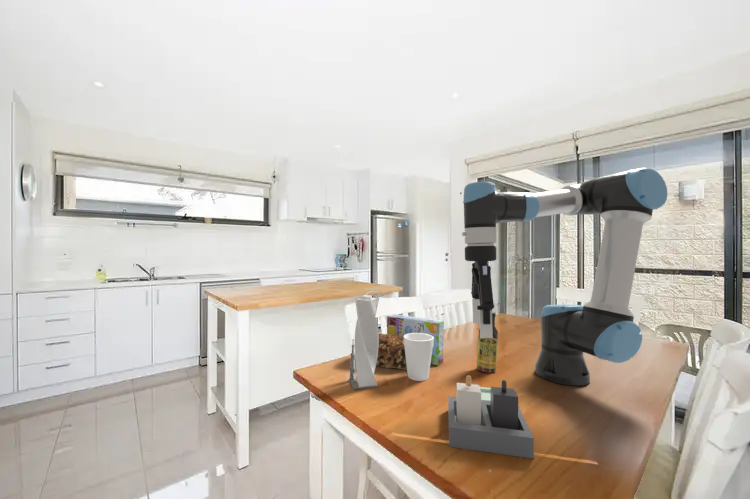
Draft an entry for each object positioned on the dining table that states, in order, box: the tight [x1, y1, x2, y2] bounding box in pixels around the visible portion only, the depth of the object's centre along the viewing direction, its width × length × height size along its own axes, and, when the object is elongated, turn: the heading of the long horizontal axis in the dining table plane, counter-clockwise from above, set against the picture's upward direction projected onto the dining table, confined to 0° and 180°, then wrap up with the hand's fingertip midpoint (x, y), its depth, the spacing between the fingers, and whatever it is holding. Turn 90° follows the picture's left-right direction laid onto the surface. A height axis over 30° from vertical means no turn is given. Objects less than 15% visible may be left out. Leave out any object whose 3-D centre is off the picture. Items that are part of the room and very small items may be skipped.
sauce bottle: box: [476, 310, 499, 374], centre depth 106 cm, size 7×6×20 cm
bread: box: [376, 333, 407, 371], centre depth 112 cm, size 19×11×10 cm, turn 72°
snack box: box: [386, 313, 445, 366], centre depth 117 cm, size 21×6×15 cm, turn 58°
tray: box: [480, 386, 491, 401], centre depth 84 cm, size 10×13×1 cm
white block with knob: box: [456, 375, 481, 425], centre depth 70 cm, size 5×4×12 cm
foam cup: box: [404, 333, 434, 382], centre depth 99 cm, size 10×9×13 cm
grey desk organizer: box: [447, 379, 535, 459], centre depth 70 cm, size 16×14×12 cm
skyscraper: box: [348, 289, 382, 390], centre depth 94 cm, size 8×8×28 cm
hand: (481, 329), depth 79 cm, fingers open, 13 cm apart
